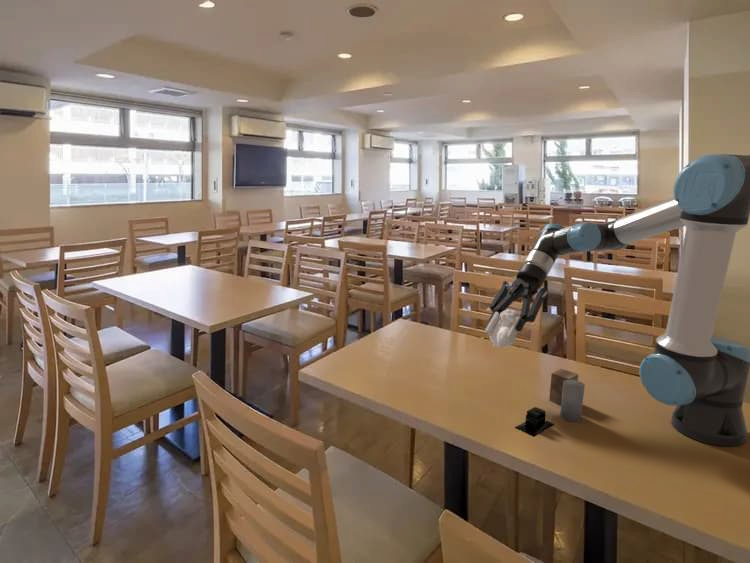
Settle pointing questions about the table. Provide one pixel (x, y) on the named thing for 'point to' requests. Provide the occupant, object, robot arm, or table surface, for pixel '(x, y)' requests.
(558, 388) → the walnut block
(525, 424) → the notched block on base
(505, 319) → the bust
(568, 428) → the table surface
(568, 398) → the grey rounded cylinder
